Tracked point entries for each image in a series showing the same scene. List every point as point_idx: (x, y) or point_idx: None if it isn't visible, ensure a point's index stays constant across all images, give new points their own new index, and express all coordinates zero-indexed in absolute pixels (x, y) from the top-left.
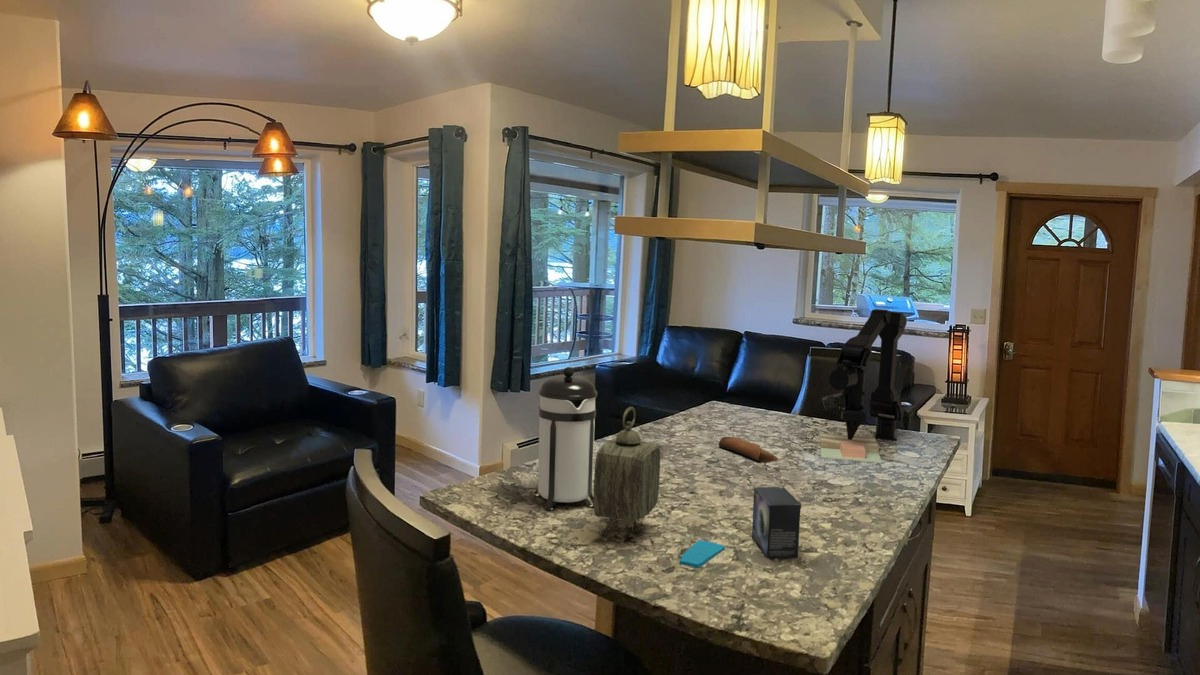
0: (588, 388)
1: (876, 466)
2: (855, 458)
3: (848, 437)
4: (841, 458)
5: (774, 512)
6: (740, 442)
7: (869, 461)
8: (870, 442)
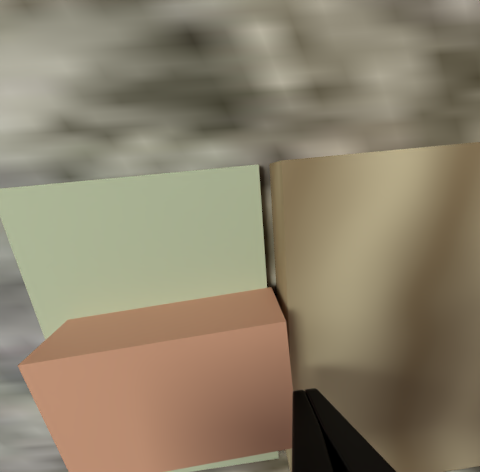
0: None
1: (22, 463)
2: None
3: (294, 408)
4: (38, 315)
5: None
6: None
7: None
8: (397, 453)
